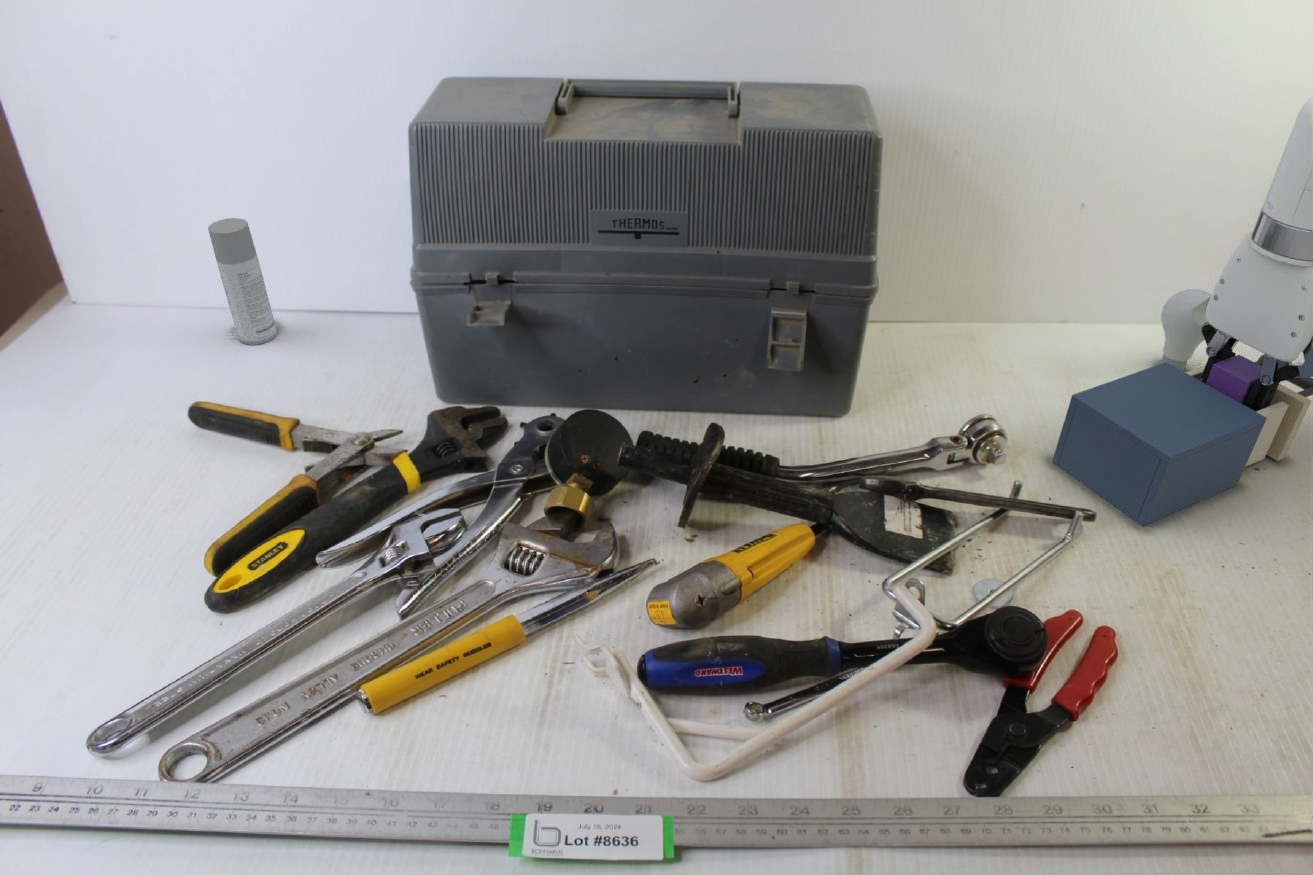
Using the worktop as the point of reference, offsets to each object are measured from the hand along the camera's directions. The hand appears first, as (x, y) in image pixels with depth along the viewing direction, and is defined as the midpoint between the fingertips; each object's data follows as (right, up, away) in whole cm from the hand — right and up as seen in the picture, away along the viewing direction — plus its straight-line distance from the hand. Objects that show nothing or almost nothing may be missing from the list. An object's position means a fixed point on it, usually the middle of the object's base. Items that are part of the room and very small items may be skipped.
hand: (1231, 398), depth 100 cm
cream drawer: (+1, -4, +4) cm, 6 cm away
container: (-110, +9, +24) cm, 113 cm away
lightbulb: (+2, +3, +17) cm, 17 cm away
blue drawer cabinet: (-9, -8, 0) cm, 13 cm away
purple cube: (0, 0, 0) cm, 0 cm away
